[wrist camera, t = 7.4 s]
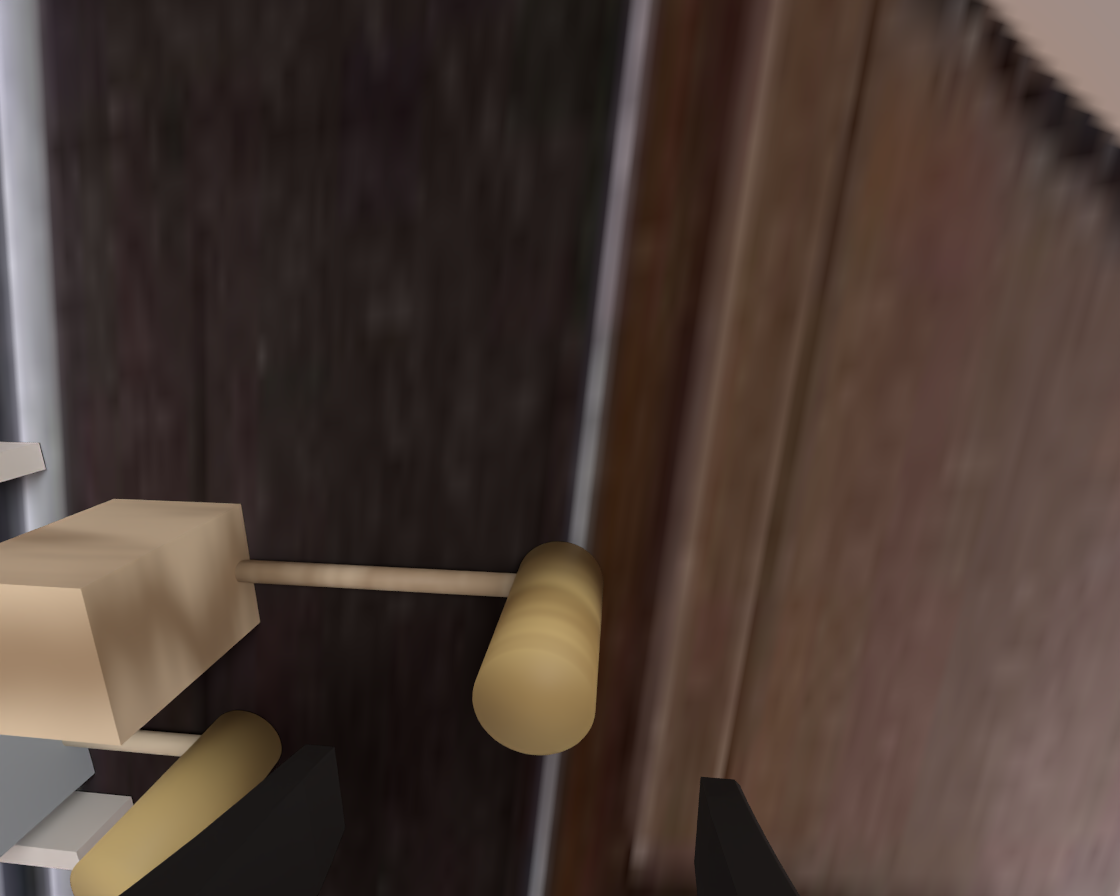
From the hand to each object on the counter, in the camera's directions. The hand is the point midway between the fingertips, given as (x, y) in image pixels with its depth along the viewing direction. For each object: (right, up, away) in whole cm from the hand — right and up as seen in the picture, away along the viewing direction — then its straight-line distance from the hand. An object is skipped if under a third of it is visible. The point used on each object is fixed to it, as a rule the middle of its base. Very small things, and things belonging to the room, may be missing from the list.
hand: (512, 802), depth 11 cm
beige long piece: (-7, +2, +9) cm, 12 cm away
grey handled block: (-17, -5, +12) cm, 22 cm away
